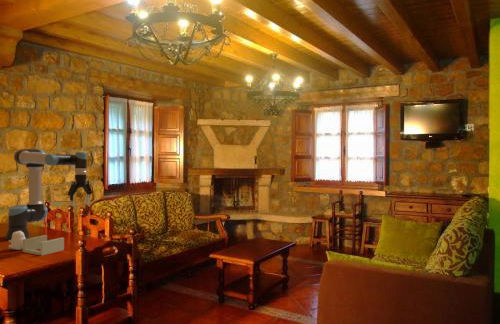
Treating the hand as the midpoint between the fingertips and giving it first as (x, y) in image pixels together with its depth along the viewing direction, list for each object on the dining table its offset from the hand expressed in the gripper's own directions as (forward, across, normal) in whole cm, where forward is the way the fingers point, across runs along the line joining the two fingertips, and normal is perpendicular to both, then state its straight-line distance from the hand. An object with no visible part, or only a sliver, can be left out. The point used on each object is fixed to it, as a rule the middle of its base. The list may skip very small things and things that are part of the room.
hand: (80, 204), depth 285 cm
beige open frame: (+27, -28, +1) cm, 39 cm away
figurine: (+27, -33, +18) cm, 46 cm away
